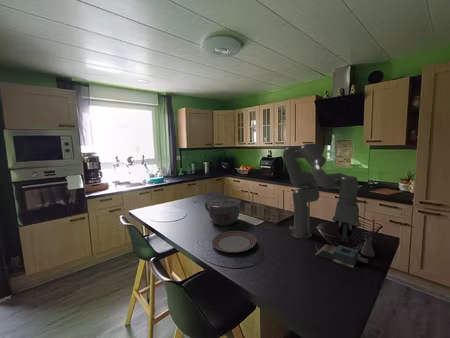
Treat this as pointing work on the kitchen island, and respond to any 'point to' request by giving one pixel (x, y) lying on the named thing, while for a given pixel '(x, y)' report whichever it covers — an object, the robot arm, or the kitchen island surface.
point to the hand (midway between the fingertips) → (345, 234)
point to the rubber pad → (326, 255)
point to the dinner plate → (234, 241)
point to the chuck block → (347, 255)
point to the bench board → (330, 249)
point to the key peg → (345, 232)
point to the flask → (367, 247)
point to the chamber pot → (223, 210)
